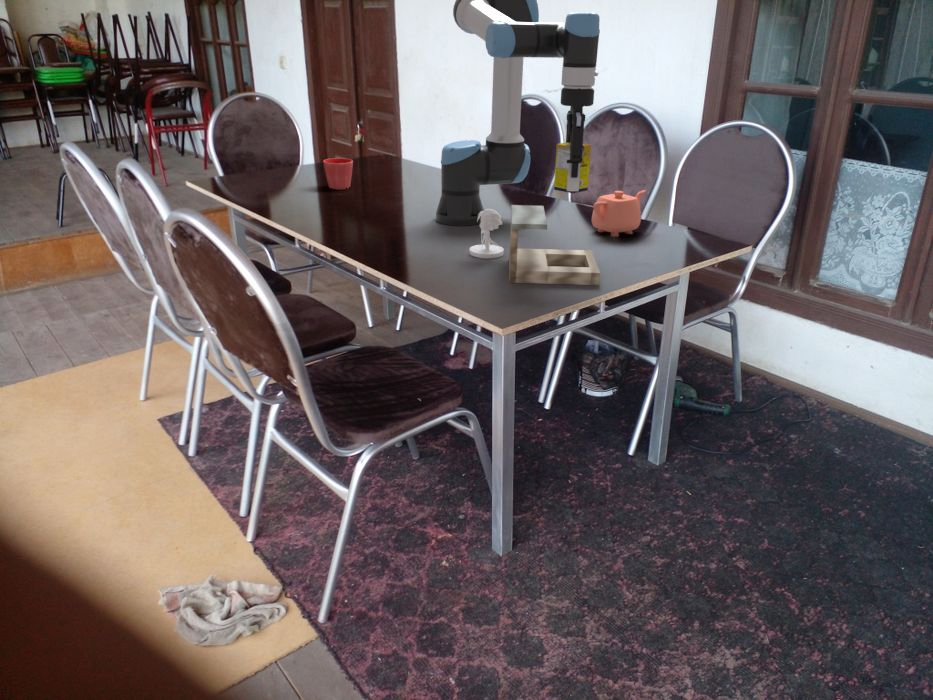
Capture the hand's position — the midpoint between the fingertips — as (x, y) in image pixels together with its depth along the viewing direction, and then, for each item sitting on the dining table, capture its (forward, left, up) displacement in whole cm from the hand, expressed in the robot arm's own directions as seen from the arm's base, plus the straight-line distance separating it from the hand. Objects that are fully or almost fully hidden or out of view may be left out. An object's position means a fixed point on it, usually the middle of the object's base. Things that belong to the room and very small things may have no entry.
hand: (570, 187), depth 170 cm
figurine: (-20, +9, -20) cm, 30 cm away
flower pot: (-76, +86, -20) cm, 116 cm away
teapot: (+18, +34, -20) cm, 43 cm away
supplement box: (0, 0, -1) cm, 1 cm away
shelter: (-4, -5, -20) cm, 21 cm away
